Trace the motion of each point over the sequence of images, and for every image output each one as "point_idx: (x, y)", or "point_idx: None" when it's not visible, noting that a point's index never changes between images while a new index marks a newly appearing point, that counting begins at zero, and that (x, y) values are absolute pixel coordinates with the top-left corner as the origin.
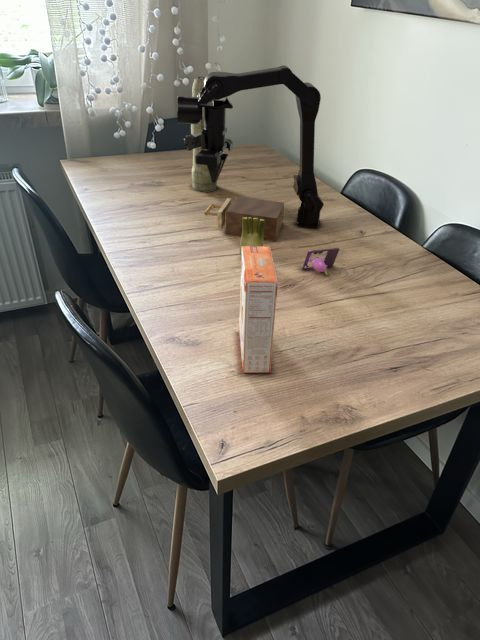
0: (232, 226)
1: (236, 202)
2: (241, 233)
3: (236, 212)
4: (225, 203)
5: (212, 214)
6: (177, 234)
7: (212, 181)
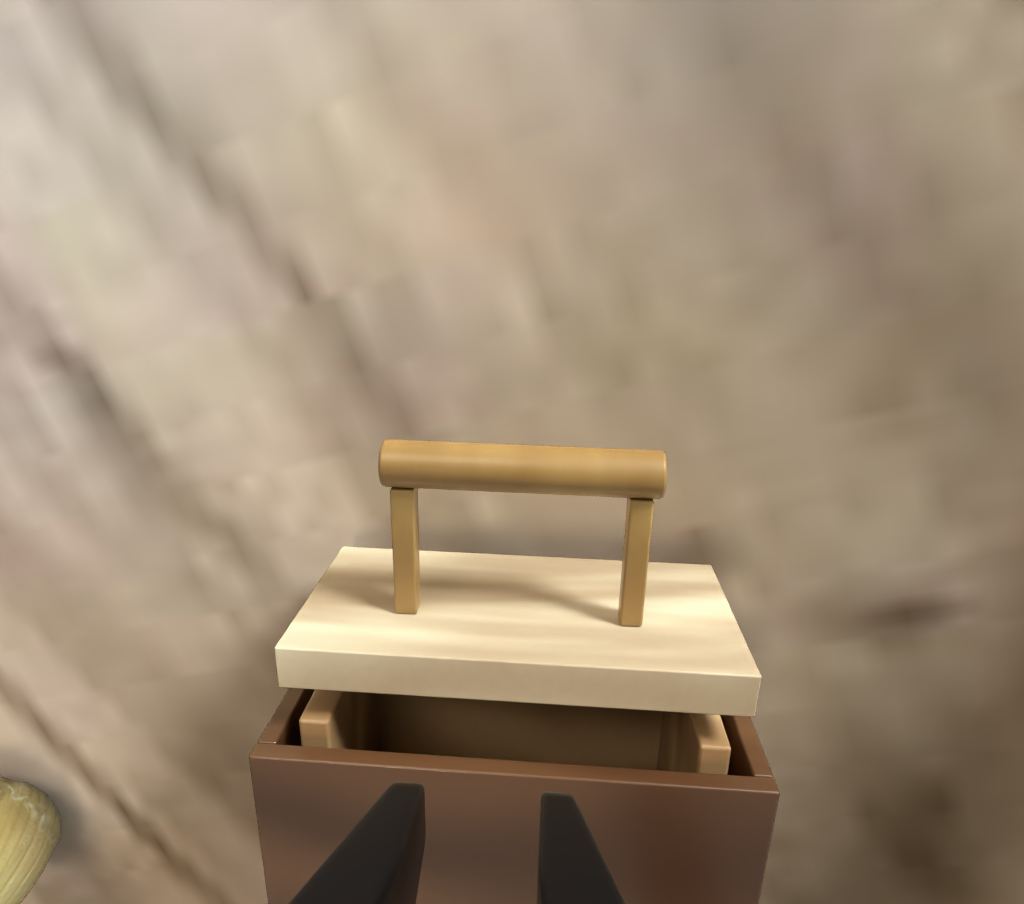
0: None
1: None
2: None
3: (267, 848)
4: (567, 682)
5: (394, 531)
6: (141, 192)
7: (381, 808)
